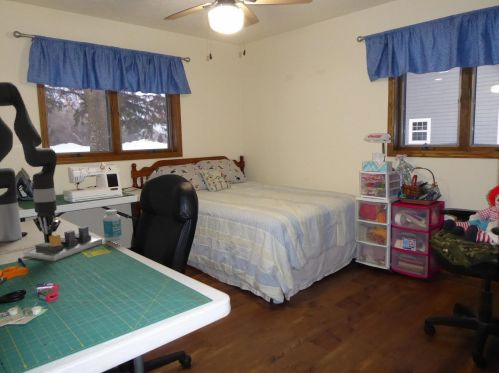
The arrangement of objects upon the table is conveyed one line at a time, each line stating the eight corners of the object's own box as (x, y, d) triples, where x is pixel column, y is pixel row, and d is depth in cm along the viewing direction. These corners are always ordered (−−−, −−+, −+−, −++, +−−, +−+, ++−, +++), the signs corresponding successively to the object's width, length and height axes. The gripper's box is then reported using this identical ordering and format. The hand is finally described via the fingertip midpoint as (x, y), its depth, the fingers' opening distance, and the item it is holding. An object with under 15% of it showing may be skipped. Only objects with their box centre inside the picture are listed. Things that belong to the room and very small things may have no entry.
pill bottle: (116, 242, 157) (113, 212, 155) (101, 241, 159) (98, 212, 157) (125, 237, 164) (123, 208, 163) (110, 236, 166) (108, 208, 164)
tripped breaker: (50, 246, 139) (49, 236, 139) (56, 243, 142) (55, 234, 141) (54, 246, 138) (53, 236, 138) (61, 244, 141) (60, 234, 141)
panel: (23, 256, 141) (21, 236, 140) (74, 239, 163) (72, 222, 162) (54, 261, 134) (52, 240, 133) (102, 243, 156) (101, 225, 155)
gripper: (24, 199, 138) (28, 242, 140) (48, 202, 133) (51, 247, 135) (41, 196, 145) (45, 237, 147) (65, 199, 140) (68, 241, 142)
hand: (48, 242), depth 141 cm, fingers closed
